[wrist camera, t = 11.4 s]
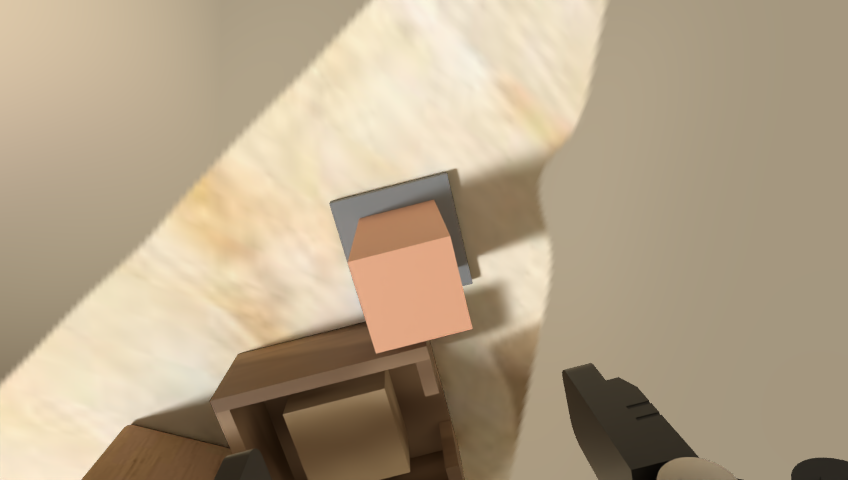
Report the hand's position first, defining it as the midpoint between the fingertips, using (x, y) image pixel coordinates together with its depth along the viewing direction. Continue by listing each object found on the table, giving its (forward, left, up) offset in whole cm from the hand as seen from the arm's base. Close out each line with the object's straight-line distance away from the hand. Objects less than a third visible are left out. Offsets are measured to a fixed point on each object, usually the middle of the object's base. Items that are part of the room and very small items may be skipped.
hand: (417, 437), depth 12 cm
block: (0, 0, -17) cm, 17 cm away
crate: (-10, +6, -18) cm, 21 cm away
